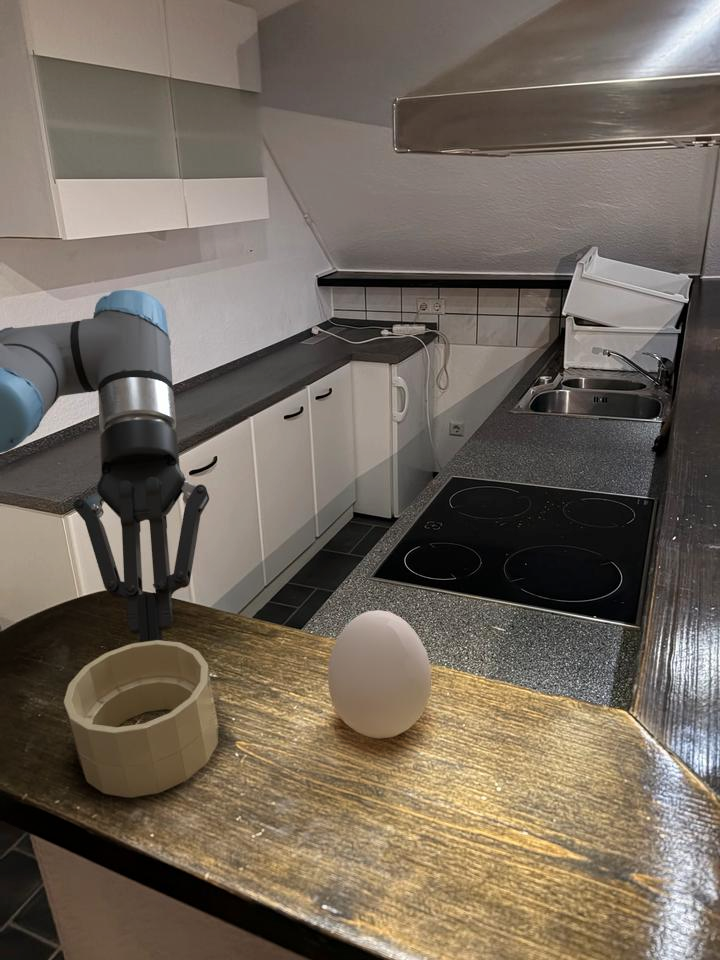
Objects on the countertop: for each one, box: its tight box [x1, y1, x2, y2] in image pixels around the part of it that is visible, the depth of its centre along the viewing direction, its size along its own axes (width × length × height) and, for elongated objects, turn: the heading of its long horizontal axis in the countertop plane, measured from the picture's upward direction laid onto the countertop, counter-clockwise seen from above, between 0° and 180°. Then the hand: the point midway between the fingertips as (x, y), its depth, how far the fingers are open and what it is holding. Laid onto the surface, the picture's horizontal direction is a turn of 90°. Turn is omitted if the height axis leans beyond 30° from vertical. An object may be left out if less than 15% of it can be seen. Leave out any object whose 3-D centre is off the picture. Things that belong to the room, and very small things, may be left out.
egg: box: [327, 609, 432, 740], centre depth 64 cm, size 9×9×11 cm
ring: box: [63, 640, 219, 798], centre depth 63 cm, size 11×11×8 cm
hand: (153, 666), depth 69 cm, fingers closed
